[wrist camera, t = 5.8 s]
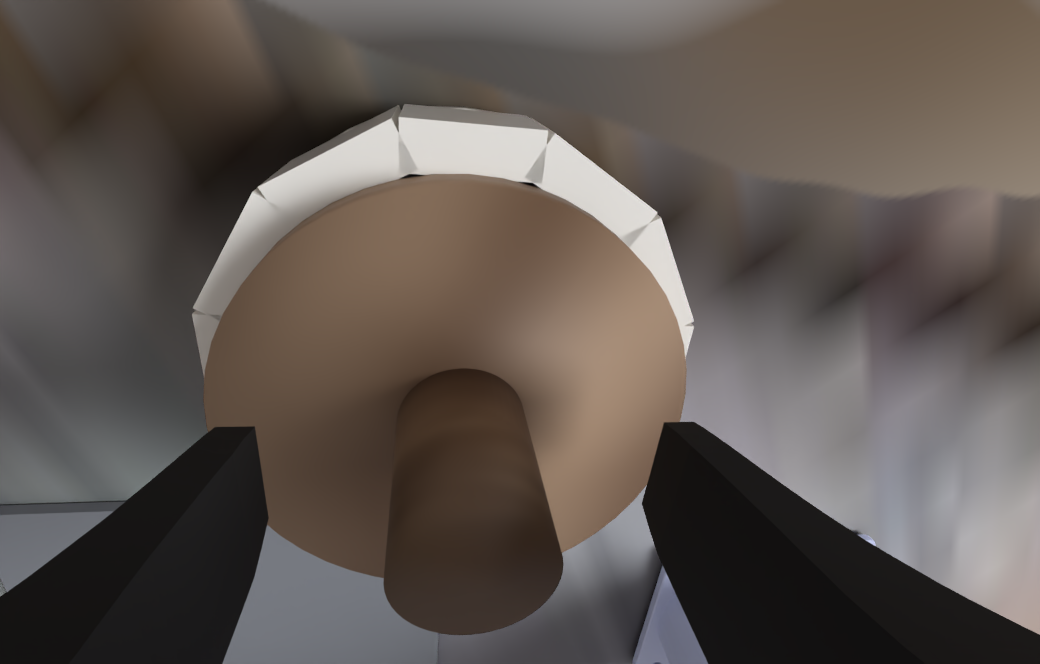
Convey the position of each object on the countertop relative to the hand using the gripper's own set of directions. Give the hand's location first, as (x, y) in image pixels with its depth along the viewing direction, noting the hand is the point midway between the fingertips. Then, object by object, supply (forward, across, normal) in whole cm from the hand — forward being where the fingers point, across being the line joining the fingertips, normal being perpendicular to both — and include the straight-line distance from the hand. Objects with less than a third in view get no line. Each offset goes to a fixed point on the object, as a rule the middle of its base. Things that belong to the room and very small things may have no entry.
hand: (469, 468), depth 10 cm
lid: (+3, 0, +1) cm, 3 cm away
